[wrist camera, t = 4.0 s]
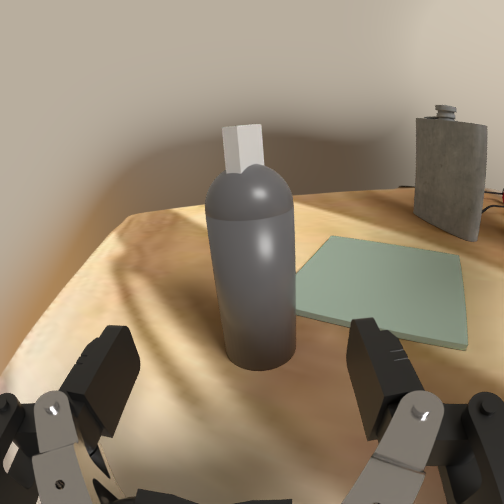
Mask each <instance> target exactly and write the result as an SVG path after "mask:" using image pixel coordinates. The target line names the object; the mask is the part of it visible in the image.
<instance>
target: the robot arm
mask: <svg viewBox="0 0 504 504" xmlns="http://www.w3.org/2000/svg"><path fill="white" fill-rule="evenodd" d="M346 361H347V368H348V372H349V375H350V379H351V382H352V386H353V389H354V393H355V396H356V400H357V404H358V407H359V411H360V415H361V418H362V422H363V426H364V430H365V434H366V438H367V441H371V440H376V439H378V442H379V445H378V447H377V449H376V450H375V452H374V454H373V455H372V456H371V458H370V460H369V461H368V463H367V465H366V466H365V468H364V470H363V471H362V473H361V475H360V476H359V478H358V479H357V481H356V482H355V484H354V486H353V487H352V489H351V490H350V492H349V493H348V495H347V496H346V498H345V499H344V500H343V502H342V503H341V504H413V502H414V500H415V498H416V496H417V494H418V492H419V489H420V487H421V485H422V483H423V480H424V477H425V472H424V468H425V466H438V469H439V473H440V477H441V480H442V484H443V488H444V492H445V496H446V500H447V504H504V402H503V401H502V400H501V398H500V397H498V396H497V395H495V394H493V393H490V392H480V393H477V394H476V395H474V396H473V397H472V398H471V400H470V401H469V403H468V404H444V403H442V402H441V400H440V399H439V398H438V397H437V396H436V395H434V394H433V393H430V392H427V391H425V390H424V388H423V386H422V384H421V382H420V380H419V378H418V376H417V374H416V372H415V370H414V368H413V366H412V364H411V362H410V360H409V359H408V356H407V354H406V352H405V351H404V350H403V347H402V345H401V343H400V341H399V339H398V338H397V337H396V336H395V335H394V334H392V333H391V332H390V331H389V330H381V331H380V329H379V327H378V325H377V323H376V321H375V319H374V318H373V317H369V318H360V319H352V321H351V324H350V332H349V339H348V346H347V354H346ZM139 371H140V357H139V354H138V352H137V349H136V346H135V344H134V341H133V338H132V335H131V332H130V330H129V328H128V327H127V326H115V325H108V326H107V327H106V328H105V329H104V331H103V332H102V334H101V335H100V337H99V338H96V339H94V340H93V341H92V342H91V343H89V344H88V345H87V346H86V348H85V349H84V351H83V352H82V354H81V357H79V358H78V360H77V362H76V364H75V365H74V366H73V368H72V369H71V371H70V373H69V374H68V376H67V377H66V379H65V381H64V382H63V384H62V386H61V387H60V389H59V390H58V391H49V392H47V393H45V394H43V395H42V396H40V397H39V398H38V400H37V401H36V403H31V404H21V403H20V402H19V401H18V399H17V398H16V396H15V395H13V394H11V393H4V394H1V395H0V504H36V502H37V499H38V496H39V497H40V501H41V504H198V503H195V502H192V501H189V500H186V499H183V498H180V497H178V496H175V495H172V494H165V493H159V492H153V491H148V490H143V489H138V491H137V495H136V497H127V498H126V496H125V495H124V493H123V492H122V490H121V489H120V488H119V486H118V484H117V483H116V480H115V478H114V476H113V474H112V471H111V469H110V466H109V464H108V462H107V459H106V456H105V454H104V451H103V449H102V446H101V444H100V443H99V439H100V437H101V435H102V436H106V437H111V438H113V435H114V433H115V430H116V428H117V425H118V423H119V420H120V418H121V415H122V413H123V410H124V408H125V405H126V403H127V400H128V398H129V395H130V393H131V391H132V388H133V386H134V383H135V381H136V379H137V376H138V374H139ZM12 441H13V442H14V443H15V444H16V446H17V447H18V448H19V449H18V451H17V453H16V456H15V458H14V460H13V462H12V465H11V467H10V469H9V472H8V474H7V473H6V472H5V470H4V468H3V460H4V457H5V455H6V453H7V451H8V449H9V447H10V445H11V443H12ZM235 504H292V499H285V500H251V501H246V502H241V503H235Z"/></svg>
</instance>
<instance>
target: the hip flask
mask: <svg viewBox="0 0 504 504" xmlns="http://www.w3.org/2000/svg"><path fill="white" fill-rule="evenodd" d="M435 107H436V110H438V113H437V116H436V117H424V118H427V119H423V118H416V179H415V197H414V211H413V213H414V214H415V215H417V216H418V217H420V218H421V219H423V220H425V221H427V222H428V223H430V224H432V225H434V226H436V227H438V228H440V229H442V230H444V231H446V232H448V233H450V234H452V235H455V236H457V237H459V238H461V239H464V240H466V241H471V242H474V241H477V239H478V234H479V228H480V221H481V214H482V207H483V198H484V189H485V177H486V162H487V161H486V160H487V126H485V125H479V124H473V123H465V122H458V121H455V120H454V119H455V115H454V112H456V107H452V106H447V105H436V106H435Z"/></svg>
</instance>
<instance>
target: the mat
mask: <svg viewBox="0 0 504 504" xmlns="http://www.w3.org/2000/svg"><path fill="white" fill-rule="evenodd" d="M296 315H300V316H304V317H308V318H312V319H316V320H320V321H324V322H328V323H333V324H337V325H341V326H346V327H350V324H351V321H352V319H360V318H369V317H373V318H374V319H375V321H376V323H377V325H378V327H379V329H380V331H381V330H389V331H390V332H391V333H392V334H394V335H395V336H396V337H397V338H401V339H406V340H411V341H416V342H421V343H426V344H431V345H437V346H442V347H447V348H453V349H459V350H465V351H466V349H467V346H468V334H467V317H466V305H465V295H464V286H463V278H462V271H461V264H460V258H459V255H454V254H448V253H442V252H436V251H430V250H424V249H418V248H411V247H405V246H399V245H392V244H386V243H379V242H373V241H366V240H359V239H352V238H346V237H339V236H331V237H330V238H329V239H328V240H327V241H326V242H325V244H324V245H323V246H322V247H321V248H320V249H319V250H318V251H317V252H316V253H315V254H314V256H313V257H312V258H311V259H310V260H309V261H308V262H307V263H306V264H305V265H304V266H303V267H302V268H301V270H300V271H299V272H298V273H297V274H296Z"/></svg>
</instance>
